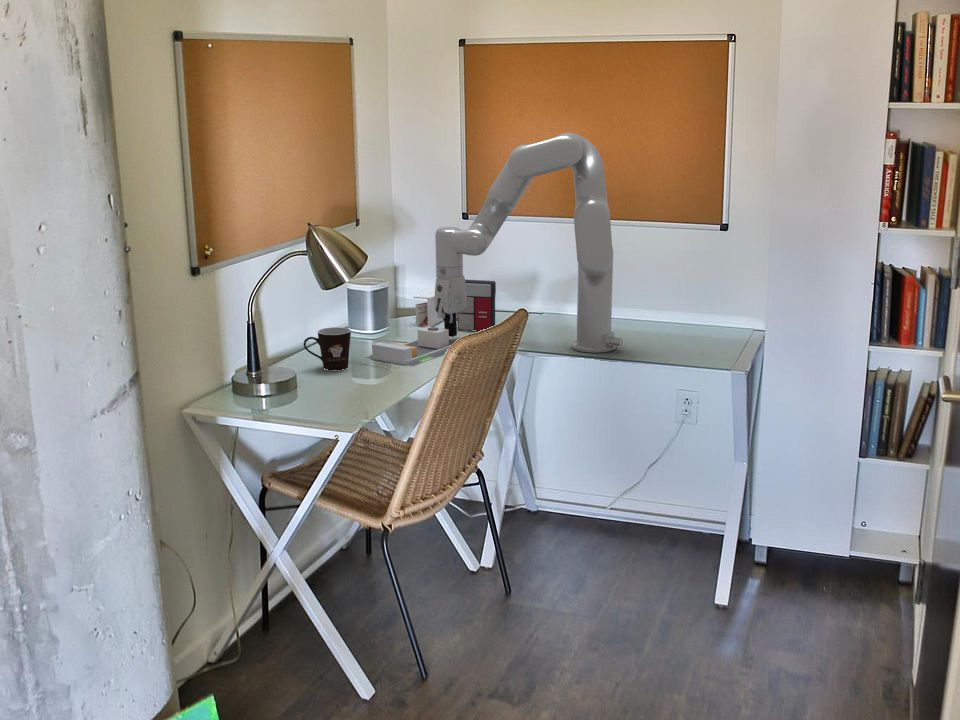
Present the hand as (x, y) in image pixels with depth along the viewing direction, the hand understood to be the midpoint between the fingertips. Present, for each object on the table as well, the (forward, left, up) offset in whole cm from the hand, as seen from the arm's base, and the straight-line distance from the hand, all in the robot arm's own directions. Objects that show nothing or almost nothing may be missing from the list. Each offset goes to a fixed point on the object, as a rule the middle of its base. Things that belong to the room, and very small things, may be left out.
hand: (450, 335), depth 305 cm
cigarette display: (+23, -22, -3) cm, 32 cm away
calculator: (+4, -19, -3) cm, 19 cm away
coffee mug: (+12, +37, -3) cm, 39 cm away
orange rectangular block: (0, +22, -2) cm, 22 cm away
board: (0, +15, -3) cm, 16 cm away
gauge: (0, +8, -1) cm, 8 cm away
